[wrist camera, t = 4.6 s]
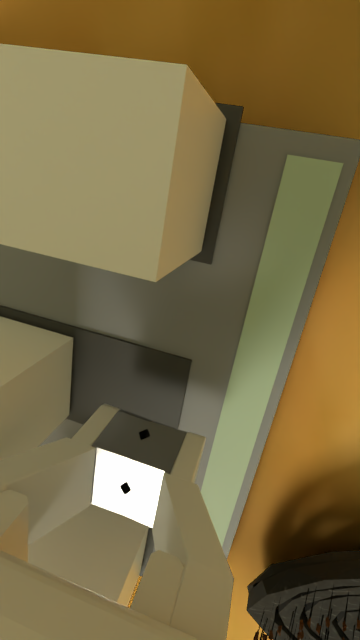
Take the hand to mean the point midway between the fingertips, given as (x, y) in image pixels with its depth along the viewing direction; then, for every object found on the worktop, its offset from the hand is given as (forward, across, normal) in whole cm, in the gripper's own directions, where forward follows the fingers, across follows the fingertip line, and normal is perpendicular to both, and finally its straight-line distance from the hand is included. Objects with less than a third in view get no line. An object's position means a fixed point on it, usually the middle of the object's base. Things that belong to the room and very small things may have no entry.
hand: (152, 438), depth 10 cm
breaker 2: (+1, -2, +7) cm, 7 cm away
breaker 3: (+1, -2, -6) cm, 7 cm away
